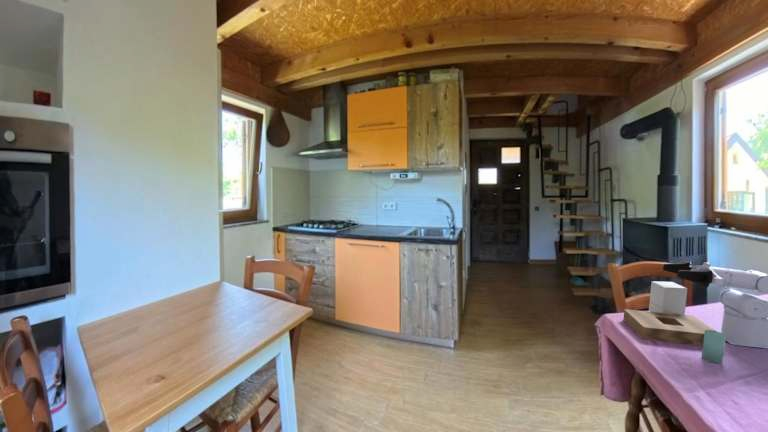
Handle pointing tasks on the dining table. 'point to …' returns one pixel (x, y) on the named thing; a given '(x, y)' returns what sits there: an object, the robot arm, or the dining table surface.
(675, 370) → the dining table surface
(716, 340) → the peg
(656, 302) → the supplement box
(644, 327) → the socket block
